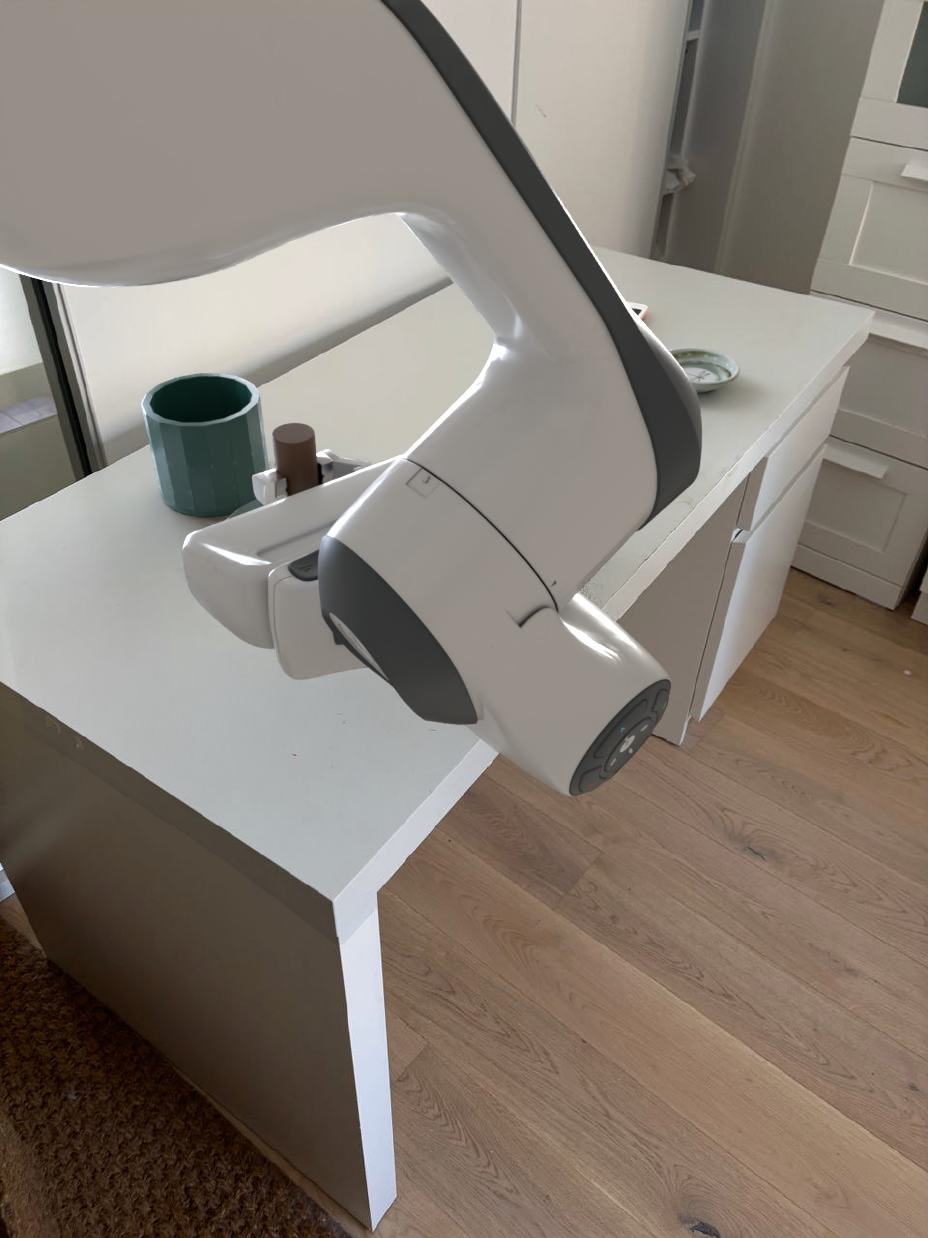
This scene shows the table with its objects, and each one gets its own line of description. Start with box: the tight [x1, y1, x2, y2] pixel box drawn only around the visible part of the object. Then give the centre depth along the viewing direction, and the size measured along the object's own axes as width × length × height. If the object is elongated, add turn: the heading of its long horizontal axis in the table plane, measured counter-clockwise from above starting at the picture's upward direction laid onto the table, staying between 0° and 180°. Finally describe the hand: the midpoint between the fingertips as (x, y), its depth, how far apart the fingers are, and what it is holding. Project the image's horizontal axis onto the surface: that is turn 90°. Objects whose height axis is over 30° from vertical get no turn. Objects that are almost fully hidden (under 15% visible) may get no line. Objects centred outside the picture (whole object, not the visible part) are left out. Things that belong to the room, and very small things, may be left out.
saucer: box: [668, 346, 741, 393], centre depth 113 cm, size 10×10×2 cm
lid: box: [227, 422, 319, 519], centre depth 62 cm, size 11×11×9 cm
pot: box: [140, 372, 270, 518], centre depth 91 cm, size 10×10×10 cm
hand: (289, 471), depth 62 cm, fingers closed on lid, 2 cm apart
